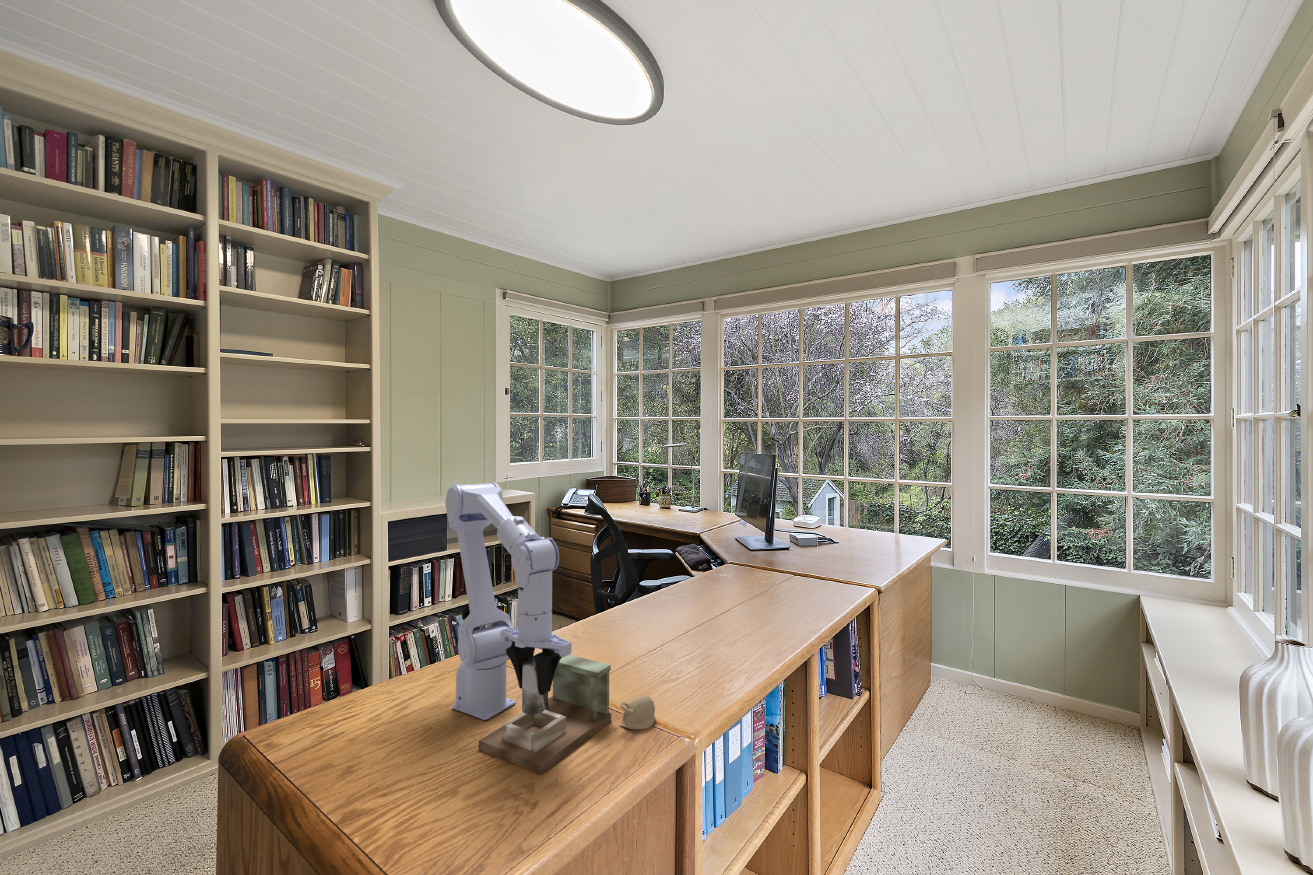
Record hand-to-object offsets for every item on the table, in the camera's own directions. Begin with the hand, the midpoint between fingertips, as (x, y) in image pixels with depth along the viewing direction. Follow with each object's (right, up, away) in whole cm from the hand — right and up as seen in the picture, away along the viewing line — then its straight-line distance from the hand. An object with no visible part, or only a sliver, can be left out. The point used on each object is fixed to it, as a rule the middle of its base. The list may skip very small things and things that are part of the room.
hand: (534, 689), depth 94 cm
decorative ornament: (+17, -10, +7) cm, 21 cm away
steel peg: (0, -3, 0) cm, 3 cm away
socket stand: (+2, -9, +3) cm, 10 cm away
